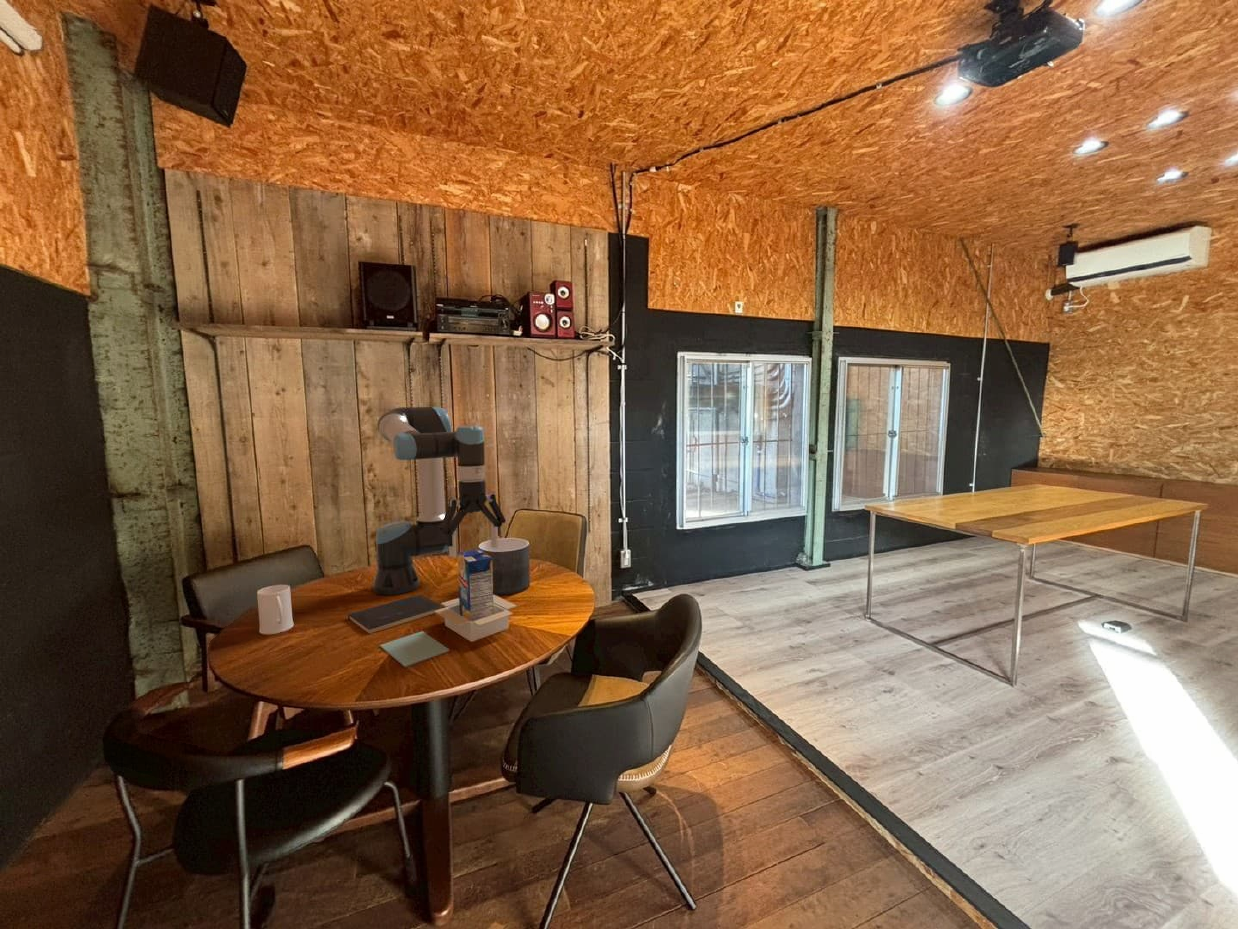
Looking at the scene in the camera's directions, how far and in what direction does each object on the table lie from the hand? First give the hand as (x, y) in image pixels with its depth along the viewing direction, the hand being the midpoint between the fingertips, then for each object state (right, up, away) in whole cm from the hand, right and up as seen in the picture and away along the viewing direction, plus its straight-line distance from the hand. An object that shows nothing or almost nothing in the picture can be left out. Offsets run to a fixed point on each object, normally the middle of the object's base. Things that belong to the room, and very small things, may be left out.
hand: (474, 552), depth 150 cm
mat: (-13, -24, -11) cm, 30 cm away
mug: (-58, -23, +1) cm, 63 cm away
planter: (+1, -19, +37) cm, 41 cm away
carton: (0, -23, +3) cm, 23 cm away
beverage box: (0, -23, +3) cm, 23 cm away
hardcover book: (-28, -23, +12) cm, 38 cm away
